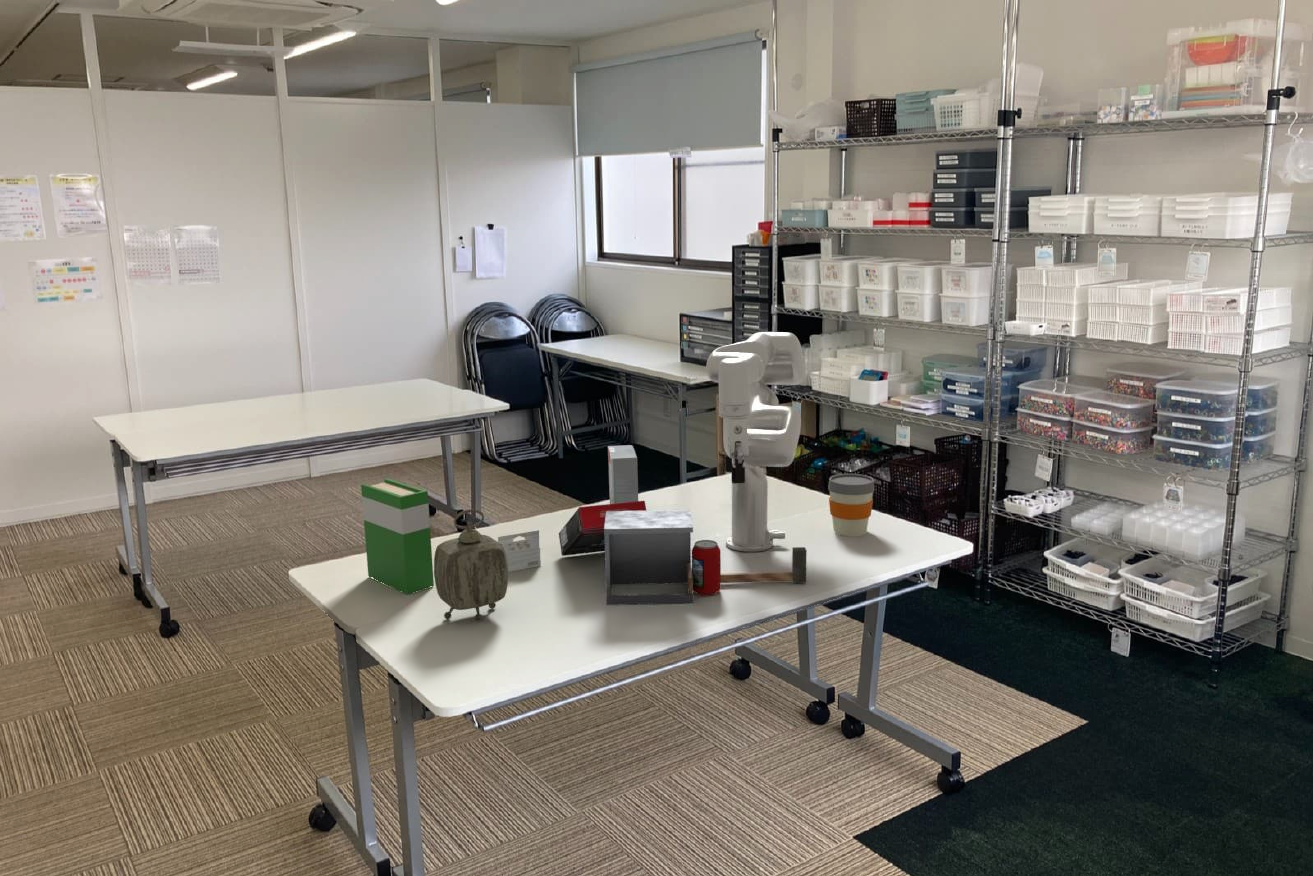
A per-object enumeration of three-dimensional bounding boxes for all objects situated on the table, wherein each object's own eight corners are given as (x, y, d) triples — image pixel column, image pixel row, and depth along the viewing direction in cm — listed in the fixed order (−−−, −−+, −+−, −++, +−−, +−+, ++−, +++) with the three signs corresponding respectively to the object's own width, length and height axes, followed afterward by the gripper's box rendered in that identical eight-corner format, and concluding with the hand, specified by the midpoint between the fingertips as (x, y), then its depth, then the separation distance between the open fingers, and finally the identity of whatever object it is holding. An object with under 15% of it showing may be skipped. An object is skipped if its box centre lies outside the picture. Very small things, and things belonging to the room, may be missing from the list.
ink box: (496, 571, 261) (494, 534, 259) (537, 564, 266) (536, 527, 264) (499, 574, 259) (497, 537, 257) (541, 566, 264) (539, 530, 262)
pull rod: (804, 578, 250) (804, 547, 249) (811, 595, 239) (812, 562, 238) (686, 581, 250) (686, 549, 248) (688, 598, 239) (688, 565, 237)
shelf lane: (690, 581, 251) (690, 509, 247) (693, 603, 237) (692, 527, 233) (608, 583, 251) (606, 511, 247) (606, 605, 237) (604, 529, 233)
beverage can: (690, 587, 247) (689, 539, 245) (717, 586, 248) (717, 538, 245) (694, 598, 241) (693, 548, 238) (722, 596, 241) (722, 547, 239)
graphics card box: (619, 526, 278) (645, 496, 253) (624, 551, 276) (650, 524, 251) (557, 533, 272) (577, 504, 248) (561, 559, 270) (581, 532, 246)
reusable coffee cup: (838, 540, 280) (839, 486, 277) (820, 526, 292) (821, 475, 289) (880, 536, 283) (882, 483, 280) (861, 523, 295) (862, 472, 292)
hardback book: (368, 577, 258) (360, 484, 252) (394, 570, 263) (387, 478, 258) (407, 595, 246) (400, 497, 240) (433, 586, 251) (427, 490, 245)
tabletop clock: (496, 604, 238) (491, 500, 233) (513, 617, 231) (508, 509, 226) (436, 618, 231) (429, 511, 225) (452, 632, 223) (445, 521, 218)
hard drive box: (609, 510, 312) (607, 445, 307) (634, 509, 312) (633, 444, 308) (613, 525, 297) (611, 457, 292) (639, 524, 297) (638, 456, 293)
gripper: (756, 417, 243) (756, 486, 248) (743, 401, 260) (743, 466, 264) (724, 418, 243) (725, 488, 247) (713, 402, 259) (714, 468, 264)
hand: (734, 477), depth 256 cm, fingers open, 9 cm apart
